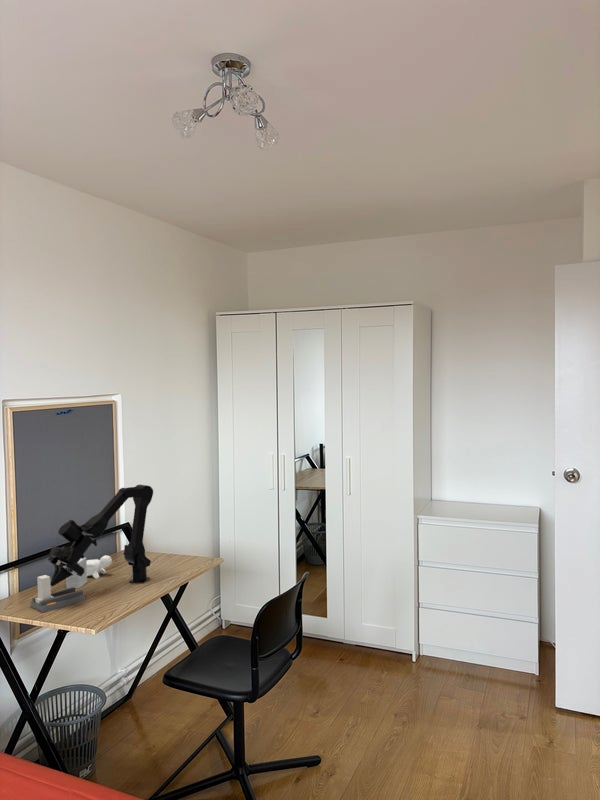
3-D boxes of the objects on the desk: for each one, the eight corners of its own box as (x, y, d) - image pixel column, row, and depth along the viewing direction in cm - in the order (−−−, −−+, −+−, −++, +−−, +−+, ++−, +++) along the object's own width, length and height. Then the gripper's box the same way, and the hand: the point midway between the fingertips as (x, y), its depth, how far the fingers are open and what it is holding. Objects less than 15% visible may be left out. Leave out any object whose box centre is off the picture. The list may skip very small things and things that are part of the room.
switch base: (72, 595, 236) (71, 586, 236) (84, 600, 230) (84, 591, 230) (30, 606, 225) (30, 597, 225) (43, 612, 218) (42, 602, 218)
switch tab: (48, 598, 227) (47, 574, 226) (53, 600, 224) (52, 576, 224) (35, 602, 223) (34, 577, 223) (40, 604, 220) (39, 579, 220)
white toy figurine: (79, 586, 258) (111, 572, 257) (71, 567, 258) (103, 554, 257) (88, 580, 267) (118, 567, 266) (80, 562, 267) (111, 549, 266)
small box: (74, 582, 253) (73, 557, 253) (87, 582, 253) (86, 557, 253) (65, 588, 245) (65, 562, 245) (79, 588, 245) (78, 562, 245)
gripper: (51, 534, 235) (24, 569, 227) (75, 540, 223) (46, 578, 215) (72, 550, 241) (45, 585, 233) (96, 557, 229) (69, 594, 221)
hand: (51, 585), depth 225 cm, fingers closed
